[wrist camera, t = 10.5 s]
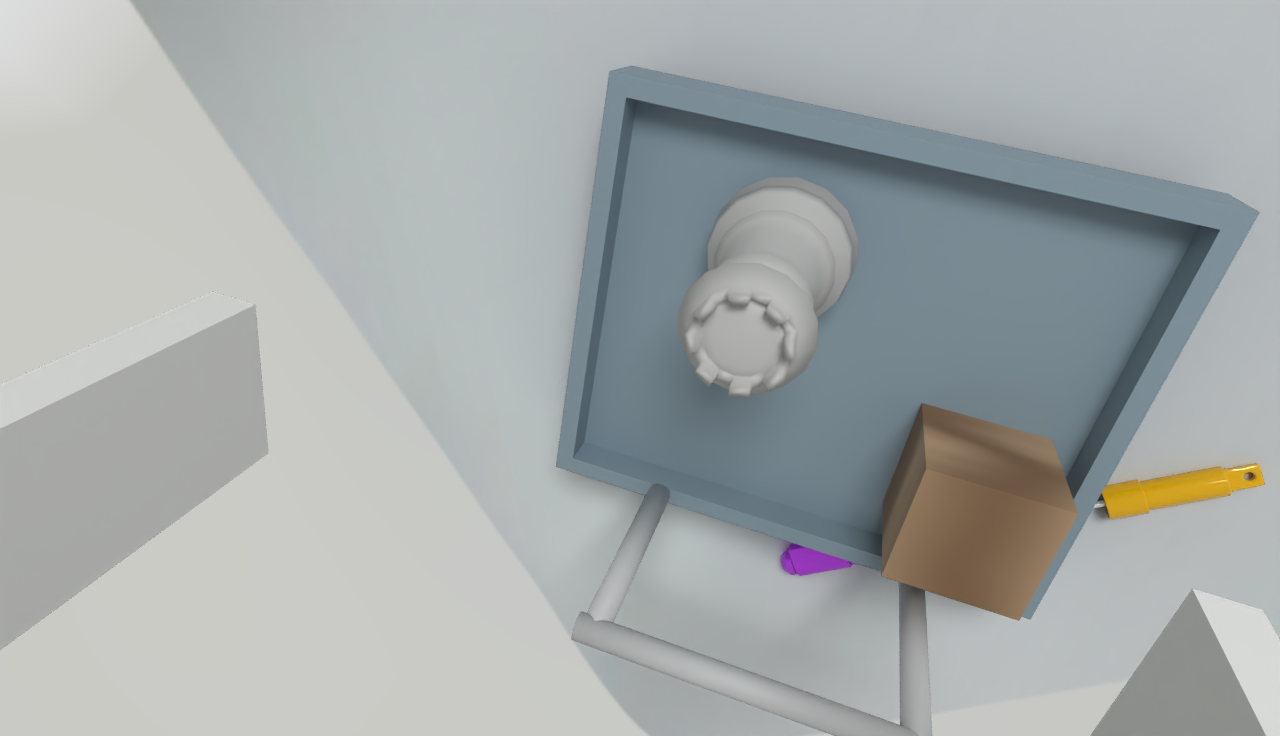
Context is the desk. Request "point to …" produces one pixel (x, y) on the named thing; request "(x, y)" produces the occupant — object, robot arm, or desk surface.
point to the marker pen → (1116, 497)
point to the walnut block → (975, 511)
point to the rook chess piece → (767, 285)
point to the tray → (865, 336)
